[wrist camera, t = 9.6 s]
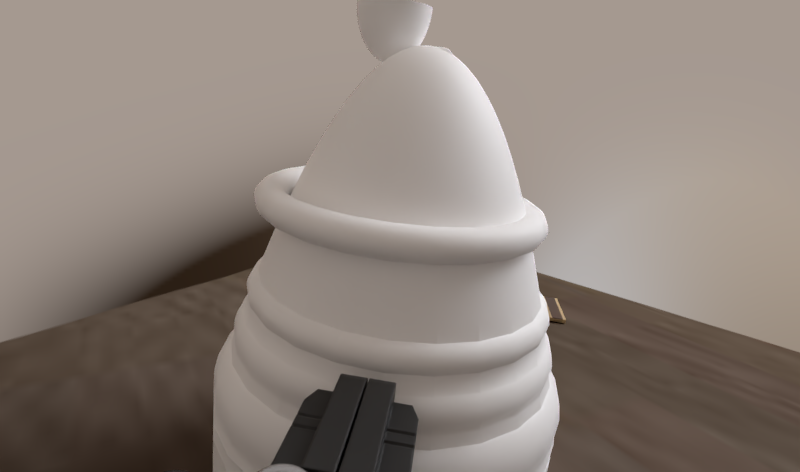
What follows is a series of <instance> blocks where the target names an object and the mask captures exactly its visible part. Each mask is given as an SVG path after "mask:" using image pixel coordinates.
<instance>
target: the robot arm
mask: <svg viewBox="0 0 800 472" xmlns="http://www.w3.org/2000/svg"><path fill="white" fill-rule="evenodd" d="M395 391H396V383H395V382H389V381H383V380H377V379H372V378H370V379H369V381H368V378H365V377H359V376H354V375H348V374H341V375H340V377H339V379H338V381H337V384H336V386H335V388H334V390H333V391H327V390H322V389H317V390H316V391H315V392H313V393H312V394H311V395H309V396H308V397H307V398H305V399H304V401H303V403H302V405H301V407H300V409H299V411H298V414H297V415H296V417H295V419H294V421H293V423H292V426H290V428H289V430H288V432H287V434H286V436H285V438H284V440H283V442H282V444H281V446H280V448H279V450H278V452H277V454H276V456H275V458H274V460H273V461H272V463H271V465H270V466H267V467H265V468H263V469H261V470H259V471H258V472H411V471H412V463H413V456H414V449H415V442H416V435H417V428H418V421H419V419H418V417H417V414H416V412H415V410H414V408H413V405H407V404H401V403H396V402H394V399H395ZM165 472H189V471H184V470H170V471H165Z"/></svg>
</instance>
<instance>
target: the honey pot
mask: <svg viewBox="0 0 800 472" xmlns="http://www.w3.org/2000/svg"><path fill="white" fill-rule="evenodd" d="M432 10H433V8H432V7H431V6H429V5H427V4H424V3H420V2H416V1H411V0H357V16H358V24H359V28H360V32H361V35H362V38H363V40H364V43H365V44H366V46H367V48H368V49H369V51H370V52H371V53H372V54H373V55H374V56H375V57H376V58H377V59H379V60H380V61H382V62H383V63H381V64H380V65H378V66H377V67H376V68H375V69H374V70H373V71H372V72H371V73H370V74H369V75H368V76H367V77H366V78H365V79H364V80H363V81H362V82H361V83H360V84H359V85H358V86H357V88H356V89H355V90H354V91H353V92H352V94H351V95H350V96H349V97H348V99H347V100H346V101H345V103H344V104H343V105H342V107H341V108H340V110H339V111H338V112H337V114H336V115H335V117H334V118H333V120H332V121H331V123H330V124H329V126H328V128H327V129H326V131H325V132H324V134H323V135H322V137H321V139H320V141H319V143H318V144H317V146H316V148H315V149H314V151H313V153H312V155H311V156H310V158H309V160H308V162H307V164H306V166H300V167H294V168H287V169H283V170H280V171H277V172H274V173H271V174H269V175H267V176H266V177H265V178H264V179H263V180H262V181H261V182H260V183H259V184H258V185H257V186H256V187H255V190H254V199H255V203H256V208H257V211H258V212H259V214H260V215H261V216H262V217H263V218H264V219H266V220H267V221H268V222H269V223H271V224H272V225H273V226H274V227H276V228H275V230H274V232H273V235H272V237H271V239H270V242H269V244H268V247H267V249H266V251H265V254H264V256H263V257H262V258H261V259H260V260H259V261H258V262H257V263H256V265H255V267H254V268H253V270H252V272H251V273H250V275H249V277H248V280H247V290H248V295H247V296H246V297H245V299H244V301H243V303H242V305H241V306H240V308H239V310H238V312H237V314H236V317H235V321H234V330H233V331H232V332H231V333H230V334H229V336H228V338H227V340H226V342H225V344H224V346H223V348H222V349H221V351H220V353H219V355H218V358H217V362H216V366H215V370H214V413H213V472H258V471H259V470H261V469H263V468H265V467H267V466H270V465H271V463H272V461H273V460H274V458H275V456H276V454H277V452H278V450H279V448H280V446H281V444H282V442H283V440H284V438H285V436H286V434H287V432H288V430H289V428H290V426H292V423H293V421H294V419H295V417H296V415H297V414H298V411H299V409H300V407H301V405H302V403H303V401H304V399H305V398H307V397H308V396H309V395H311V394H312V393H313V392H315V391H316V390H317V389H322V390H327V391H333V390H334V388H335V386H336V384H337V381H338V379H339V377H340V375H341V374H348V375H354V376H359V377H365V378H368V381H369V379H370V378H372V379H377V380H383V381H389V382H395V383H396V391H395V399H394V402H396V403H401V404H407V405H413V408H414V410H415V412H416V414H417V417H418V419H419V421H418V428H417V435H416V442H415V449H414V456H413V463H412V471H411V472H547V469H548V465H549V461H550V453H551V450H552V447H553V444H554V439H553V438H554V435H555V432H556V429H557V426H558V423H559V399H558V393H557V388H556V382H555V378H554V376H553V374H552V372H551V368H552V356H551V350H550V344H549V339H548V336H547V334H546V330H547V328H548V326H549V314H548V309H547V303H546V301H545V298H544V297H543V295H542V294H541V293H540V292H539V286H538V280H537V273H536V266H535V260H534V254H533V251H534V250H535V249H536V248H537V247H538V246H539V245H540V244H541V243H542V242H543V241H544V239H545V238H546V237H547V234H548V224H547V221H546V218H545V215H544V213H543V212H542V211H541V210H540V209H539V208H538V207H536V206H535V205H534V204H533V203H531V202H530V201H528V200H527V199H524V198H522V194H521V190H520V185H519V181H518V178H517V174H516V170H515V167H514V164H513V160H512V157H511V154H510V150H509V148H508V144H507V141H506V138H505V135H504V133H503V130H502V128H501V125H500V123H499V120H498V118H497V115H496V113H495V111H494V109H493V107H492V105H491V103H490V101H489V99H488V97H487V95H486V93H485V92H484V90H483V89H482V87H481V85H480V83H479V82H478V80H477V79H476V78H475V76H474V75H473V74H472V73H471V71H470V70H469V69H468V68H467V66H466V65H465V64H463V63H462V62H461V61H460V60H459V59H458V58H457V57H456V56H454V55H453V54H452V52H451V50H449V49H448V48H445V47H433V46H420V44H421V43H422V41H423V39H424V37H425V34H426V32H427V30H428V27H429V24H430V20H431V16H432Z"/></svg>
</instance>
